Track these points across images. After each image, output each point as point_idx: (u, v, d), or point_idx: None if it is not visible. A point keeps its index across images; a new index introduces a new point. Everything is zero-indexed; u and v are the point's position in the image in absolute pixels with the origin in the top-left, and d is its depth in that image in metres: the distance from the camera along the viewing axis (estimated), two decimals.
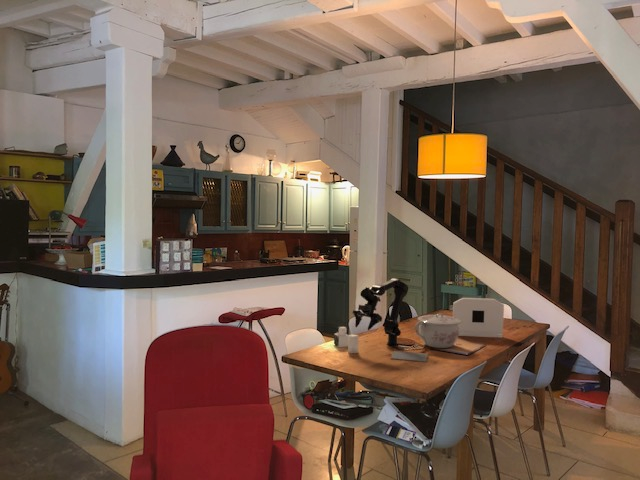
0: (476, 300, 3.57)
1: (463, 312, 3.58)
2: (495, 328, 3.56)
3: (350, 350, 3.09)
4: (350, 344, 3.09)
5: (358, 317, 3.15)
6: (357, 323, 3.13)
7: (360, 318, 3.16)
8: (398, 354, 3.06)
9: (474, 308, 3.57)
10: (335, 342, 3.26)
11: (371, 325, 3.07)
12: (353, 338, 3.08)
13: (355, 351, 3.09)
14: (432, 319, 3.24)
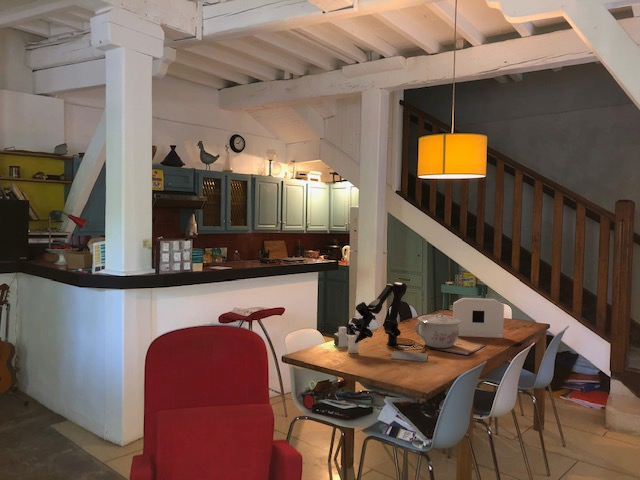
0: (476, 300, 3.56)
1: (463, 312, 3.57)
2: (495, 328, 3.56)
3: (350, 350, 3.09)
4: (350, 344, 3.09)
5: (352, 331, 3.15)
6: None
7: (354, 333, 3.16)
8: (398, 354, 3.06)
9: (474, 308, 3.57)
10: (335, 342, 3.26)
11: (359, 339, 3.08)
12: (353, 338, 3.08)
13: (355, 351, 3.09)
14: (432, 319, 3.24)
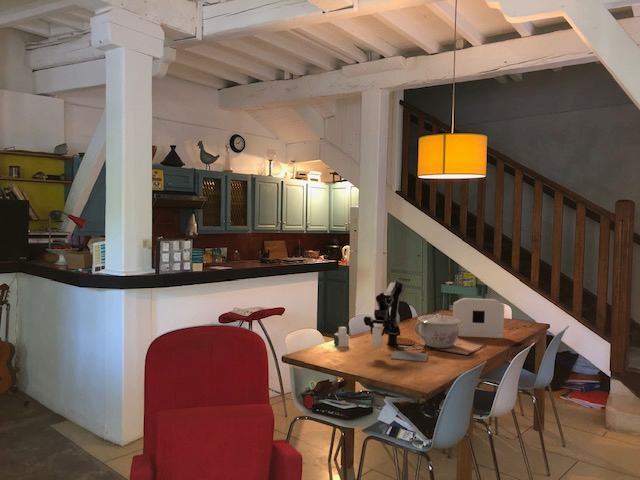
0: (477, 301, 3.55)
1: (463, 312, 3.57)
2: (495, 328, 3.55)
3: (377, 343, 2.98)
4: (377, 337, 2.98)
5: (372, 324, 3.04)
6: None
7: (373, 326, 3.06)
8: (398, 354, 3.06)
9: (474, 308, 3.56)
10: (335, 342, 3.26)
11: (385, 331, 3.00)
12: (380, 331, 2.98)
13: (381, 344, 2.99)
14: (432, 319, 3.24)
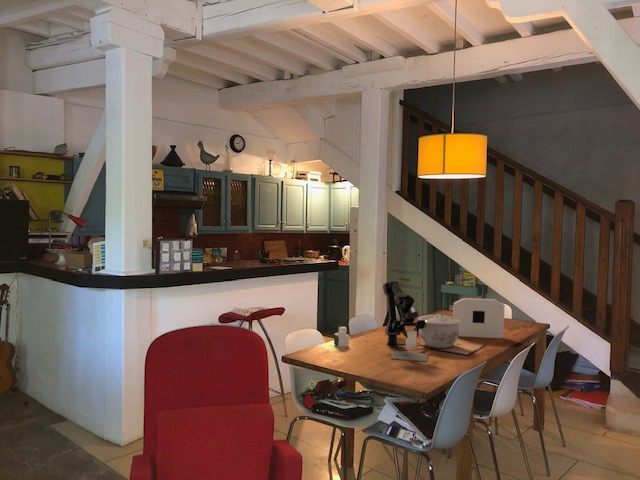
0: (477, 301, 3.55)
1: (463, 312, 3.56)
2: (496, 329, 3.55)
3: (414, 346, 2.97)
4: (414, 340, 2.97)
5: None
6: None
7: None
8: (398, 354, 3.06)
9: (474, 308, 3.56)
10: (335, 342, 3.26)
11: None
12: (416, 333, 2.98)
13: None
14: (432, 319, 3.24)
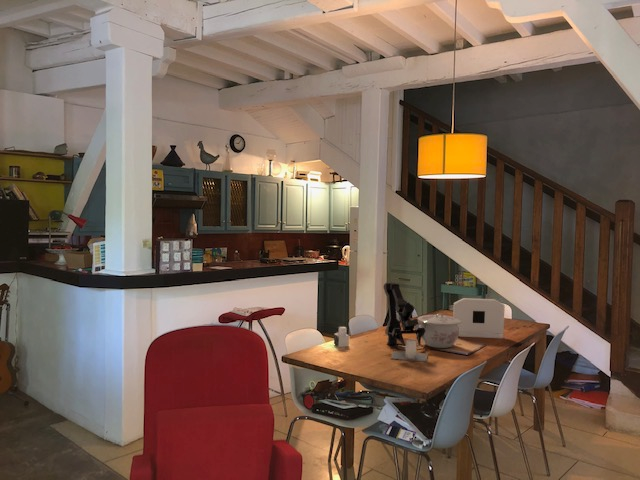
0: (477, 301, 3.55)
1: (463, 313, 3.56)
2: (496, 329, 3.54)
3: (413, 356, 2.97)
4: (413, 349, 2.97)
5: None
6: None
7: None
8: (398, 354, 3.06)
9: (475, 309, 3.55)
10: (335, 342, 3.26)
11: None
12: None
13: None
14: (432, 319, 3.24)
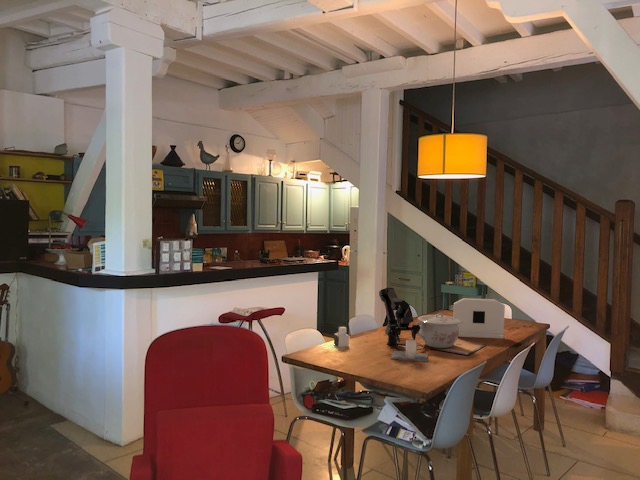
0: (477, 301, 3.54)
1: (464, 313, 3.56)
2: (496, 329, 3.54)
3: (413, 356, 2.97)
4: (413, 349, 2.97)
5: None
6: None
7: None
8: (398, 354, 3.06)
9: (475, 309, 3.55)
10: (335, 342, 3.26)
11: None
12: (416, 342, 2.98)
13: None
14: (432, 319, 3.24)
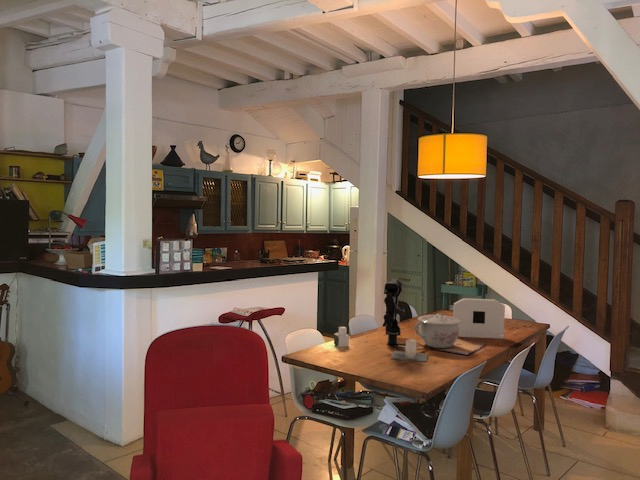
0: (477, 301, 3.54)
1: (464, 313, 3.55)
2: (496, 329, 3.54)
3: (413, 356, 2.97)
4: (413, 349, 2.97)
5: None
6: None
7: None
8: (398, 354, 3.06)
9: (475, 309, 3.54)
10: (335, 342, 3.26)
11: None
12: (416, 342, 2.98)
13: None
14: (432, 319, 3.24)
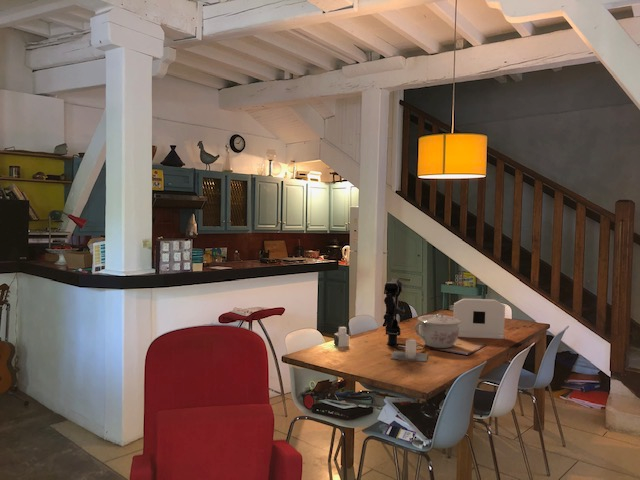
0: (477, 301, 3.53)
1: (464, 313, 3.55)
2: (496, 329, 3.53)
3: (413, 356, 2.97)
4: (413, 349, 2.97)
5: None
6: None
7: None
8: (398, 354, 3.06)
9: (475, 309, 3.54)
10: (335, 342, 3.26)
11: None
12: (415, 342, 2.98)
13: None
14: (432, 319, 3.24)
